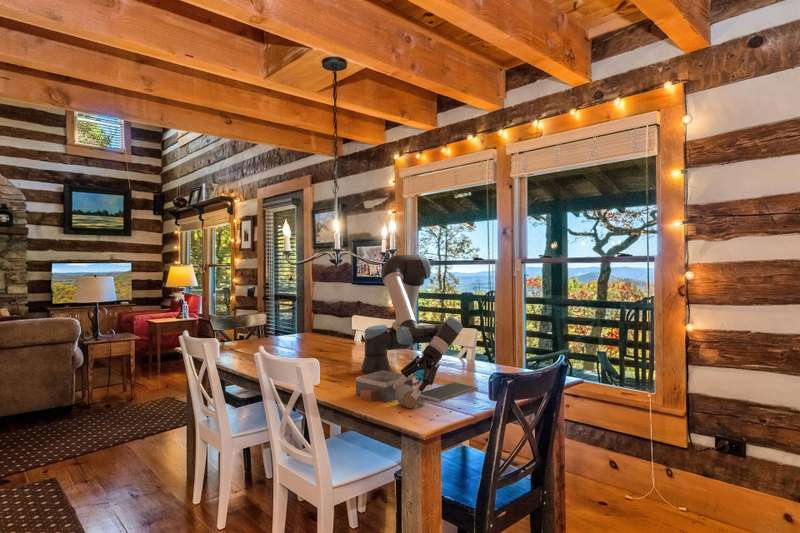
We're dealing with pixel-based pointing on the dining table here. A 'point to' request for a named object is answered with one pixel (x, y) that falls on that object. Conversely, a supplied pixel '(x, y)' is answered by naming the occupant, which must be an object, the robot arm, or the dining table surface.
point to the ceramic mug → (407, 397)
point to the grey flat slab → (447, 392)
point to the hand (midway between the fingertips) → (404, 393)
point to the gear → (419, 375)
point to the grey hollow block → (379, 385)
